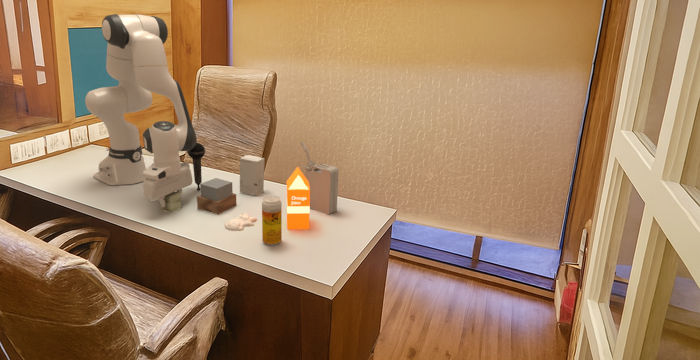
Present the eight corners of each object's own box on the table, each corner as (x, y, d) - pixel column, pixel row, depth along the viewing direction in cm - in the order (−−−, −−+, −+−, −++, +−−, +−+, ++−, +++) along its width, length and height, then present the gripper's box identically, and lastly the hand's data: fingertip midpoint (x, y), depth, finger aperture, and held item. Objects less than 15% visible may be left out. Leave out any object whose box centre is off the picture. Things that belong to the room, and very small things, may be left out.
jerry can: (297, 204, 184) (298, 142, 175) (306, 200, 188) (307, 139, 179) (328, 215, 176) (330, 150, 167) (336, 211, 180) (339, 147, 171)
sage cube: (161, 209, 173) (159, 194, 171) (171, 205, 177) (169, 190, 175) (171, 212, 171) (170, 197, 169) (181, 207, 175) (180, 192, 173)
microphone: (202, 194, 188) (199, 146, 181) (186, 192, 189) (183, 144, 183) (210, 188, 195) (208, 141, 188) (195, 186, 196) (192, 139, 189)
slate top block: (201, 196, 174) (200, 183, 173) (216, 190, 181) (215, 177, 179) (217, 201, 171) (216, 188, 169) (232, 194, 178) (232, 182, 176)
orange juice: (308, 218, 172) (309, 166, 166) (309, 229, 164) (310, 174, 157) (286, 218, 171) (286, 166, 164) (286, 229, 163) (286, 174, 156)
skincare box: (239, 193, 192) (238, 158, 187) (246, 188, 197) (246, 154, 192) (258, 196, 189) (257, 161, 184) (265, 191, 195) (264, 156, 190)
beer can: (267, 248, 150) (267, 204, 145) (259, 240, 155) (258, 197, 149) (284, 243, 153) (285, 200, 148) (276, 236, 158) (275, 194, 153)
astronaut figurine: (262, 223, 167) (262, 215, 166) (234, 234, 159) (234, 226, 158) (246, 215, 172) (246, 208, 171) (218, 226, 164) (218, 218, 163)
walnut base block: (197, 209, 176) (196, 196, 174) (215, 200, 184) (215, 188, 182) (218, 215, 172) (218, 202, 170) (236, 206, 180) (236, 194, 178)
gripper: (182, 158, 179) (184, 192, 184) (138, 174, 161) (142, 211, 166) (195, 161, 176) (197, 196, 181) (152, 177, 159) (155, 215, 164)
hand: (170, 203), depth 173 cm, fingers closed on sage cube, 5 cm apart
